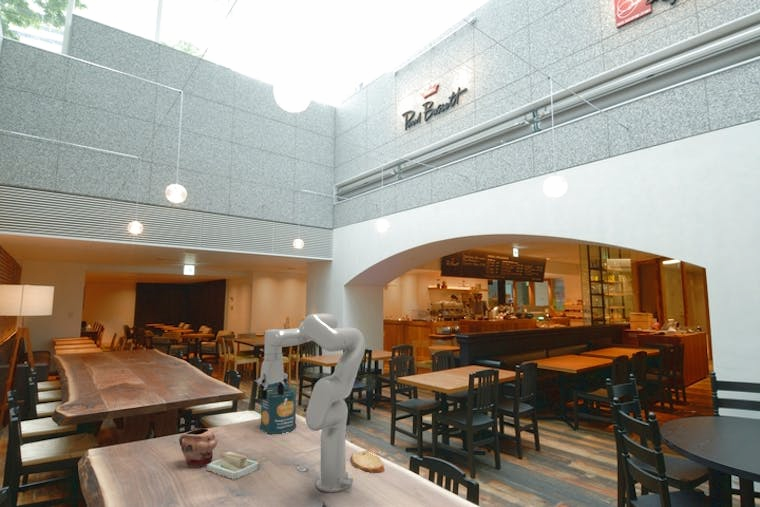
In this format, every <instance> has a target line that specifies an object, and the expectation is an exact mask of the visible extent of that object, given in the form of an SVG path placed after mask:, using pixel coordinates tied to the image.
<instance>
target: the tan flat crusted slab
mask: <svg viewBox="0 0 760 507" xmlns="http://www.w3.org/2000/svg"><path fill="white" fill-rule="evenodd" d="M365 450H366V451H365ZM365 450H364V451H360V452H357V453H352V454H351V456H350V458H349V460H350V464H351V465H352V467H353V466H354V467H353V468H355V467H356V468H355V469H357V468H358V469H360V470H362V471H361V472H363V471H364V473H367V472H369V474H382V473H384V472H385V471H386V470H385V467H384V463H383V461H382V460H381V458H380V457H379V456H378V455H377V454H376V453H375V452H374V451H373V450H371V449H365ZM369 452H370V453H369ZM371 453H372V454H371ZM373 454H374V455H373ZM375 455H376V456H375ZM377 456H378V457H377ZM358 469H357V470H358ZM360 470H359V471H360Z"/></svg>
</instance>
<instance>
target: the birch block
mask: <svg viewBox="0 0 760 507" xmlns="http://www.w3.org/2000/svg"><path fill="white" fill-rule="evenodd" d="M220 459H221V462H220V467H222V468H225V469H228V470H231V471H234V472H236V471H239V470H241V469H243V468H246V467H247V459H248V456H245V455H242V454H238V453H234V452H232V451H226V452H224V453H221V454H220Z"/></svg>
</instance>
